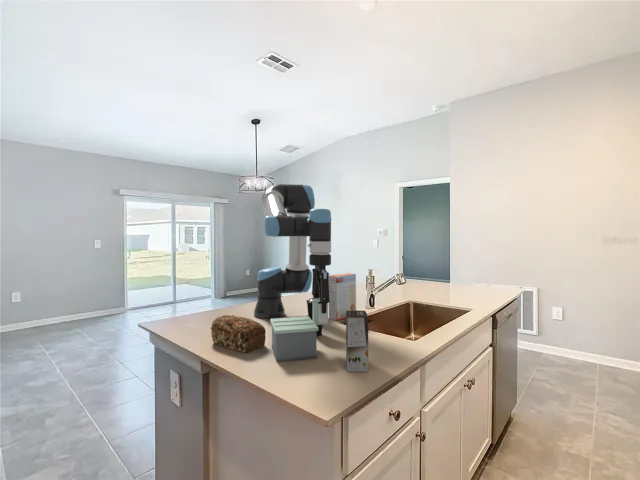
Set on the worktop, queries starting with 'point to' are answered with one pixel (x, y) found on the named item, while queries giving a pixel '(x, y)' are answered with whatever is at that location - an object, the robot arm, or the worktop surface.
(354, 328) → the coffee box
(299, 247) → the robot arm
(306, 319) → the lid
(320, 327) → the drinking cup
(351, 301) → the cracker box
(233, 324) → the bread
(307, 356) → the tub
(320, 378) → the worktop surface
